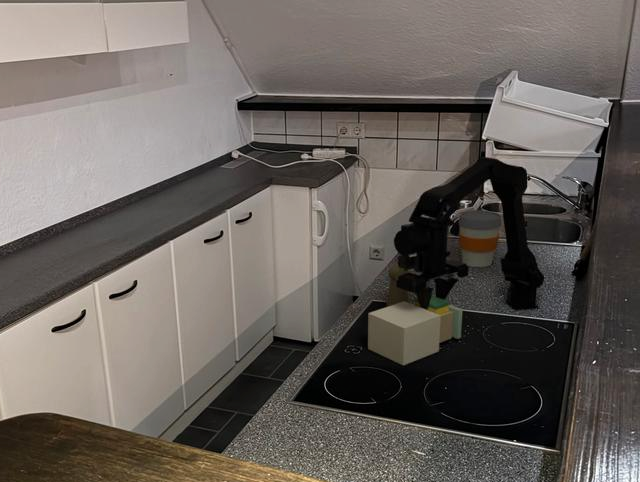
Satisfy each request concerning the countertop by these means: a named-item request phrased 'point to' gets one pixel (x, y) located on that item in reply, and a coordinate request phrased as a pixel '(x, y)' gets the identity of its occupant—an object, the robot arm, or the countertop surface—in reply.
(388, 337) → the beige cube
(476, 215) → the reusable coffee cup
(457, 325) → the drawer
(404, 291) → the olive brown pawn
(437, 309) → the sponge
